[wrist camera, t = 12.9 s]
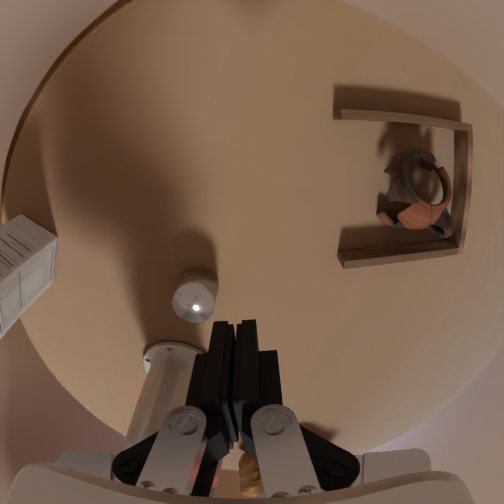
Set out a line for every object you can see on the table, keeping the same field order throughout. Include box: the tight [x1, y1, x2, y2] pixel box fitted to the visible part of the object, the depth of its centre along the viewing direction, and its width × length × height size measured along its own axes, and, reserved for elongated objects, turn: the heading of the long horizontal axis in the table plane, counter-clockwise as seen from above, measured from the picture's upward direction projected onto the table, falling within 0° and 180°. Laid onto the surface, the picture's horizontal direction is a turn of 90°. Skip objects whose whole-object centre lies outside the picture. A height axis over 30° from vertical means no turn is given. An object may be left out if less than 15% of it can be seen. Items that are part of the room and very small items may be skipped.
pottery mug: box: [376, 150, 454, 238], centre depth 28 cm, size 12×10×8 cm
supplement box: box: [0, 214, 58, 339], centre depth 26 cm, size 10×9×17 cm
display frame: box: [333, 109, 473, 269], centre depth 29 cm, size 18×19×3 cm
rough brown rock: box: [239, 452, 264, 497], centre depth 50 cm, size 23×17×15 cm
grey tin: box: [172, 267, 218, 323], centre depth 34 cm, size 5×5×5 cm
